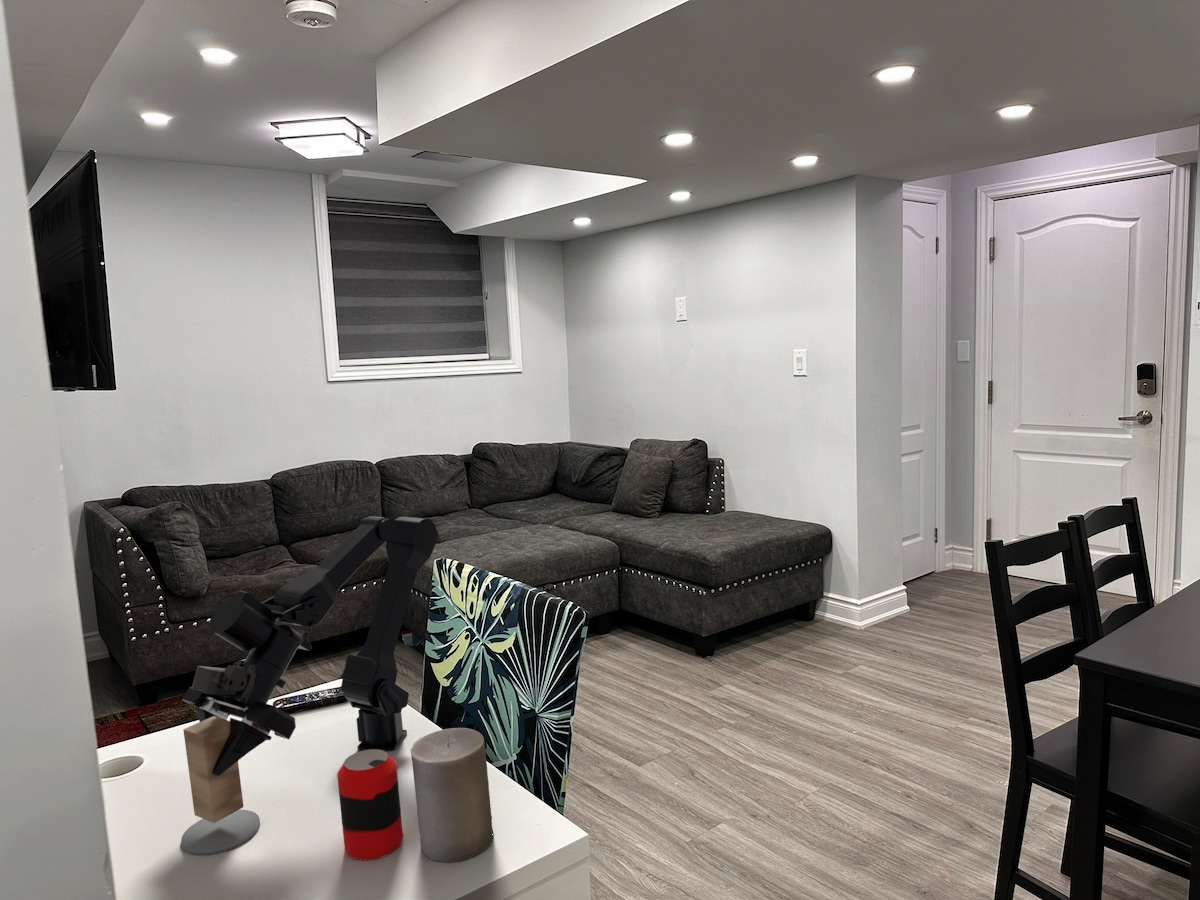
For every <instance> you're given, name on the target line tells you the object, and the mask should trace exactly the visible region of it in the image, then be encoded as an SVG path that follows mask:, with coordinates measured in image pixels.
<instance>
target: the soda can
mask: <svg viewBox="0 0 1200 900" xmlns="http://www.w3.org/2000/svg"><path fill="white" fill-rule="evenodd" d="M397 768H398V766H397V762H396V760H395V759H394V758H393V757H392V756H390V755H389V754H388V752H386V750H378V749H370V750H359V751H357V752H355V753H352V754H351V755H349V756H348V757H347V758H346V759H345V760H344V762H343V763H342V765H341V766H340V768H339V770H338V771H337V773H336V775H337V777H336V778H337V784H338V785H337V786H338V797H339V805H340V807H339V808H340V812H341V813H340V815H341V826H342V834H343V835H342V836H343V844H344V845H343V846H344V851H345V853H346V854H347V855H348V856H349V857H350V858H353V859H354V858H356V859H355V860H358V859H361V860H360V861H370V860H369V859H373V860H376V859H375V858H377V859H380V858H379V857H381V858H383V857H382V856H384V857H386V856H388V855H390V854H391V853H393V852H394V851H396V850H397V849H398V847H399V846H400V845H401V844H402V842H403V838H404V832H403V822H402V821H403V820H402V811H401V801H400V800H401V799H400V790H399V778H398V769H397ZM392 851H393V852H392ZM389 853H390V854H389ZM387 854H388V855H387ZM385 855H386V856H385Z"/></svg>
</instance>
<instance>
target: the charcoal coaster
mask: <svg viewBox="0 0 1200 900" xmlns="http://www.w3.org/2000/svg"><path fill="white" fill-rule="evenodd" d="M260 827H261V820H260V816H259V815H258V814H257V813H256V812H254V811H252V810H248V809H239V810H237V811H236V812H234V813H232V814H230V815H228V816H227V817H225V818H223V819H221V820H219V821H218V822H216V823H212V822H209V821H207V820H205V819H202V818H201V819H200V820H198V821H196V822H195V823H192V825H190V826H189V827H188V828H187V829H186V830H185V831H184V833H183V834H182V836H181V839H180V842H181V847H182V849H183V850H184V852H186V853H187V854H190V855H195V856H207V855H208V856H209V855H215V854H219V853H224V852H226V851H230V850H232V849H234V848H237V847H240V845H243V844H244V843H247V842H248V841H249V840H250V839H252V838H253V837H254V836H255V835H256V834H257V832H258V831H259V830H260Z"/></svg>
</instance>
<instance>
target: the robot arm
mask: <svg viewBox="0 0 1200 900" xmlns="http://www.w3.org/2000/svg"><path fill="white" fill-rule="evenodd" d="M438 537H439V530H438V529H437V526H436V525H435V523H434V521H433V520H431V519H429V518H423V517H422V518H421V517H409V516H399V517H397V518H395V519H390V518H389V517H383V516H373V515H372V516H371V515H370V516H367V517H364V518H363V519H362V520H361V521H360V522H359V525H358V526H357V527H356V529H354V530H353V531H352V532H351V533H350V534H349V535H348V536H347V537H346V538H344V540H343V541H342V542H341V543H340V544H339V545H338V546H337V547H336V548H335V549H333V550H332V551H331V553H330V554H329V555H328V556H326V557H325V559H323V560H322V562H320V563H319V564H318V565H317V566H316V567H315V568H314V569H312V570H311V571H308V572H306V573H304V574H301V575H299V576H297V577H294V578H293V579H292V580H290V581H289V582H287V583H286V584H284V585H283V586H282V587H280V588H279V589H278V590H277V591H276V592H275V594H273V596H271V597H269V598H267V599H265V600H263V601H262V602H260V601H259V600H258V599H256V598H255V596H254V595H252V594H251V593H250V592H248V591H244V590H238V591H237V592H236V594H234V597H231V598H229V599H227V600H226V601H224V602H223V603H222V604H220V606H219V607H217V608H215V610H214V612H213V613H212V615H211V617H210V620H209V629H210V632H212V633H213V634H215V635H216V636H218V637H220V638H221V639H223V640H224V641H226V642H227V643H229V644H231V645H233V646H235V647H236V648H238V649H239V650H241V651H244V652H245V651H246V652H247V651H249V653H248V655H247V656H246V658H245V660H244V661H242V660H237V661H235V662H234V663H233V665H227V667H225V668H222V667H215V666H214V667H212V666H206V665H205V666H203V665H197V667H196V671H195V674H194V678H193V682H192V684H191V685H192V686H190V687H189V688H188V689H187V690H186V692H185V694H184V695H183V697H182V699H181V700H182V701H184V702H185V703H187V704H189V705H191V706H194V707H193V711H194V712H195V713H196V714H197V718H198V721H199V722H201V721H204V720H206V719H208V718H210V717H213V716H215V717H218V718H222V719H225V720H228V718H229V716H230V715H231V716H232V717H237V718H239V719H241V720H239V719H236V718H232V717H230V718H229V721H230V729H231V733H230V735H229V737H228V739H227V741H226V743H225V745H224V747H223V749H222V751H221V753H220V755H219V758H218V760H217V762H216V764H215V766H214V769H213V771H212V773H213V774H215V775H217V776H220V775H221V774H222V773H223V772H225V771H226V770H227V769H228V768H230V767H231V766H232V765H233V764H235V763H236V762H237V761H238V762H239V761H240V760H241V759H242V758H243V757H245V756H246V755H247V754H249V753H250V752H251V751H253V750H254V749H256V748H257V747H259V746H260V745H262V744H263V743H265V742H266V741H271V739H272V736H271V735H270V733H271V731H272V732H274V733H273V734H274V735H275V736H277V737H280V738H282V739H285V740H290V739H291V737H292V735H293V734H294V731H295V730H296V727H297V725H296V717H293V716H292V715H290V714H289V713H286V712H285V711H283V710H281V709H280V708H278V707H276V706H274V705H271V704H268V702H269V700H270V698H271V696H272V695H273V693H274V692H275V690H276V688H279V689H283V688H284V686H285V684H286V683H287V682H286V681H285V680H283V679H282V677H283V676H284V673H285V671H286V670H287V669H288V666H289V664H290V663H291V662H292V659H293V658H294V655H295V654H296V652H297V650H298V649H300V650H303V651H304V650H305V651H311V650H312V644H311V641H310V637H309V632H308V631H303V630H300V629H299V630H297V631H296V630H295V629H294V628H292V627H291V626H289V625H287V624H290V625H293V626H294V625H295V626H299V627H306V628H311V627H312V628H313V627H315V626H317V625H318V624H320V623H321V622H322V621H323V619H324V618H326V615H327V614H329V611H330V610H331V608H332V607H333V606H334V604H335V600H336V597H337V593H338V591H339V590H340V589H341V587H342V586H343V585H344V584H345V583H346V582H347V581H348V580H349V579H350V578H351V577H352V576H353V575H354V574H355V573H356V572H357V571H358V569H360V567H362V566H363V565H364V564H365V562H367V560H368V559H370V557H372V556H373V555H374V554H375V552H376V551H377V550H378V549H380V548H381V546H382V545H384V543H385V551H386V555H387V556H386V557H387V561H388V566H387V570H386V573H385V576H384V581H383V584H382V587H381V589H380V593H379V597H378V600H377V604H376V606H375V610H374V613H373V617H372V620H371V623H370V626H369V630H368V633H367V637H366V640H365V643H364V644H363V645H364V646H363V648H361V649H360V651H358V653H357V654H356V655H354V654H348V656H347V658H346V659H345V660H346V661H345V665H344V669H343V672H342V674H341V675H340V676H339V679H340V680H342V681H341V684H340V689H341V692H342V694H343V696H344V698H345V699H346V700H348V702H349V704H350V706H351V708H353V709H355V708H356V709H358V717H357V718H356V728H357V737H358V738H357V739H358V742H359V744H358V745H357V746H356V747H357V750H358V751H364V750H370V749H378V750H383V751H393V750H396V748H398V746H399V744H400V743H401V742H402V740H403V739H404V738H405V736H406V735H407V733H408V730H407V729H404V726H403V718H402V717H403V714H402V710H403V709H405V708H406V707H407V706H408V702H409V698H410V697H409V695H410V694H409V692H408V691H406V690H404V688H402V687H400V686H399V685H397V684H396V683H397V676H398V675H397V674H398V669H397V664H396V660H395V659H396V658H395V655H394V654H395V649H396V645H397V642H398V639H399V635H400V631H401V629H402V625H403V622H404V618H405V615H406V612H407V608H408V605H409V604H408V603H409V601H410V597H411V594H412V590H413V587H414V583H415V580H416V577H417V574H418V571H419V570H420V569H421V568H422V567H423V566H424V564H425V563H426V562H427V561H429V559H430V558H431V556H432V554H433V551H434V549H435V547H436V544H437V543H438ZM275 622H282V623H285V624H280V625H277V624H276V623H275Z"/></svg>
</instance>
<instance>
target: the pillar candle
mask: <svg viewBox="0 0 1200 900" xmlns="http://www.w3.org/2000/svg"><path fill="white" fill-rule="evenodd" d="M486 752H487V751H486V743H485V737H484V736H483V734H482V733H481V732H480V731H478V730H475V729H472V728H467V727H453V728H452V727H451V728H445V729H440V730H437V731H434V732H431V733H428V734H426V735H424V736H422V737H420V738H419V739H417V740H416V741H414V743H413V744H412V746H411V748H410V755H411V763H412V770H413V771H412V773H413V783H414V791H415V792H414V793H415V802H416V803H415V804H416V811H417V812H416V813H417V821H418V828H419V829H418V830H419V837H420V838H419V840H420V847H421V850H422V852H423V853H424V854H425V856H427V857H428V858H429V859H430V860H432V861H435V860H436V862H440V861H442V862H444V863H454V862H453V861H455V862H460V861H463V860H467V859H470V858H473V857H475V856H476V855H478V854H480V853H481V852H484V850H486V849H488V848H489V846H490V845H491V844H492V842H493V840H494V837H495V836H494V829H493V822H492V821H493V820H492V819H493V815H492V808H491V797H490V784H489V774H488V765H487V754H486ZM492 834H493V835H492ZM490 843H491V844H490ZM442 862H441V863H442Z"/></svg>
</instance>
